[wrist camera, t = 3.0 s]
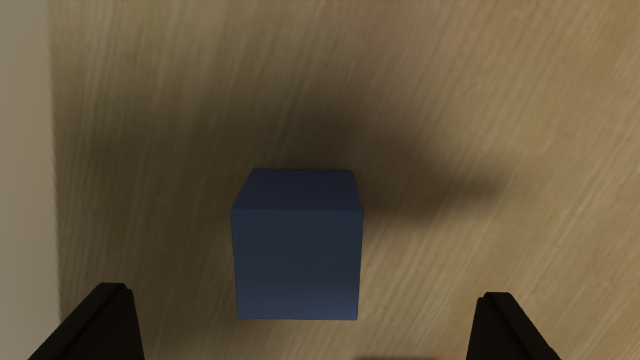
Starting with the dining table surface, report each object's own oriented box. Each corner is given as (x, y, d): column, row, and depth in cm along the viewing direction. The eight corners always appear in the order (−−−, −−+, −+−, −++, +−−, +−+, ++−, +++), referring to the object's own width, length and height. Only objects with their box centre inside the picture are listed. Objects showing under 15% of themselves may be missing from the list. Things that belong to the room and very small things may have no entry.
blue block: (256, 256, 18) (237, 319, 14) (252, 167, 17) (229, 209, 13) (348, 257, 18) (357, 321, 14) (353, 169, 17) (364, 211, 13)
